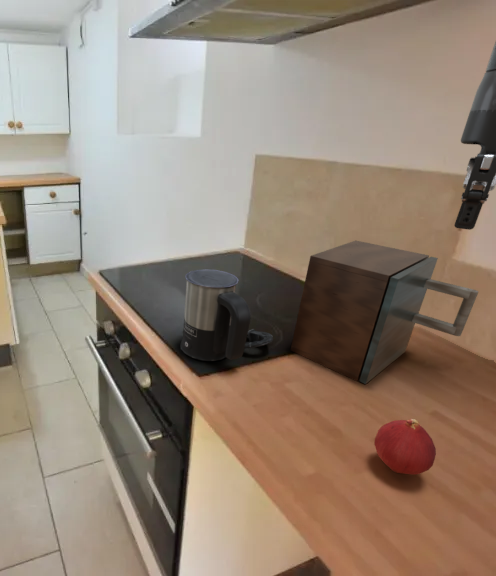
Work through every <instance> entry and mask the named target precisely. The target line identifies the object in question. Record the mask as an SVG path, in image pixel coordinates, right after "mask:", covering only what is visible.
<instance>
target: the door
mask: <svg viewBox="0 0 496 576" xmlns="http://www.w3.org/2000/svg"><path fill="white" fill-rule="evenodd" d="M438 260H439V258H438V257H434V256H429V258H428V259H426V260H424V261H422V262H420V263H418V264H416V265H414V266H412V267H410V268H408V269H406V270H404V271H402V272H400V273H398V274H396V275H394V276H392V277H391V279H390V282H389V285H388V289H387V292H386V295H385V298H384V302H383V305H382V308H381V312H380V315H379V318H378V321H377V325H376V328H375V331H374V335H373V338H372V341H371V344H370V348H369V351H368V354H367V357H366V361H365V364H364V367H363V371H362V374H361V377H360V379H359V380H358V381H359V383H361V384H364V385H366V384H368V383H369V382H370V381H371V380H373V379H374V378H375V377H376V376H377V375H379V374H380V373H381V372H383V370H384V369H387V367H389V366H390V365H391V364H392V363H393V362H395V361H396V360H397V359H398V358H400V357H401V356H403V354H404V353H406V351H407V348H408V345H409V342H410V339H411V337H412V334H413V330H414V328H415V325H421V326H423V327H426V328H429V329H433V330H435V331H439V332H442V333H445V334H448V335H451V336H454V337H461V336H462V334H463V331H464V329H465V326H466V324H467V323H468V319H469V317H470V315H471V312H472V310H473V307H474V304H475V301H476V299H477V297H478V294H479V290H476V289H473V288H469V287H464V286H461V285H457V284H452V283H449V282H444V281H440V280H436V279H432V276H433V273H434V271H435V268H436V265H437V262H438ZM428 290H430V291H435V292H438V293H442V294H445V295H449V296H454V297H457V298H462V301H461V303H460V306H459V308H458V311H457V314H456V316H455V318H454V321H453V323H451V322H448V321H445V320H441V319H438V318H434V317H431V316H429V315H424V314H422V313H420V311H421V308H422V306H423V305H422V304H423V302H424V299H425V297H426V294H427V291H428Z"/></svg>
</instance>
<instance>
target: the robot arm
mask: <svg viewBox="0 0 496 576" xmlns="http://www.w3.org/2000/svg"><path fill="white" fill-rule="evenodd" d="M483 74H484V75H483V76H482V79H481V81H480V83H479V85H478V87H477V89H476V92H475V95H474V98H473V101H472V104H471V107H470V110H469V113H468V116H467V119H466V122H465V126H464V129H463V131H462V135H461V137H460V142H461V144H462V145H478V146H480V151H479V153H477V154H476V156H475V157H474V156H473V157H470V159H469V160H468V163H467V166H466V175H465V178H464V180H463V184H462V188H463V189H464V192H462V193H461V198H460V200H461V204H460V206H459V207H460V208H459V211H458V213H457V216H456V219H455V222H454V227H455V228H456V229H461V230H468V231H469V230H470V231H471V230H473V229H475V227H476V224H477V221H478V218H479V215H480V213H481V210H482V208H483V205H484V204H485V203H486V202H487V201H488V198H489V196H490V194H489V193H490V192H492V191H493V190H495V189H496V41H495V42H494V44H493V47H492V51H491V53H490V57H489V60H488V63H487V66H486V68H485V72H484V73H483Z"/></svg>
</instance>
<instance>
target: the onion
mask: <svg viewBox="0 0 496 576" xmlns="http://www.w3.org/2000/svg"><path fill="white" fill-rule="evenodd" d="M373 445H374V447H375V450H376V455H377V456H378V457H379V458H380V460H382V462H383V463H384V465H386V466H387V467H388V468H389V469H390V470H391V471H392V472H394V473H396V474H404V475H421V474H422V473H426V472H427V471H429V470H430V469H431V468H432V467H433V466H434V463H435V460H436V456H437V455H436V454H437V448H436V446H435V443H434V441H433V438H432V437H431V435H430V434H429V433H428V431H427V430H426V429H425V428H424V427H423V426H422V425H421V424H420V423H419V421H418V420H416V419H415V418H410V419H407V420H405V419H396V420H391V421H389V422H387V423H385V424H383V425H382V426H381V427H380V428H378V430H377V432H376V435H375V437H374V444H373Z"/></svg>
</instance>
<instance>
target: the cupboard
mask: <svg viewBox="0 0 496 576" xmlns="http://www.w3.org/2000/svg"><path fill="white" fill-rule="evenodd" d="M429 257H430V254H429V255H428V254H425V253H419V252H415V251H409V250H406V249H405V250H404V249H399V248H395V247H390V246H384V245H380V244H375V243H371V242H365V241H362V240H361V241H360V240H352V241H350V242H346V243H344V244H342V245H338V246H336V247H335V246H334V247H333V248H329V249H326V250H324V251H320V252H318V253H315V254H312V255H310V256H309V261H308V264H307V265H308V266H307V270H306V275H305V280H304V285H303V288H302V289H303V290H302V294H301V299H300V304H299V307H298V312H297V317H296V322H295V327H294V331H293V336H292V341H291V345H290V351H291V352H293V353H295V354H297V355H300V356H302V357H304V358H306V359H308V360H311V361H312V362H315V363H317V364H319V365H321V366H324V367H325V368H328V369H330V370H332V371H334V372H336V373H339V374H341V375H343V376H345V377H347V378H350V379H352V380H353V381H356V382H358V381H359V380H360V377H361V374H362V371H363V367H364V364H365V361H366V357H367V354H368V351H369V348H370V344H371V341H372V338H373V335H374V331H375V328H376V325H377V321H378V318H379V315H380V312H381V308H382V305H383V302H384V298H385V295H386V292H387V289H388V285H389V282H390V279H391V277H392V276H394V275H396V274H398V273H400V272H402V271H404V270H406V269H408V268H410V267H412V266H414V265H416V264H418V263H420V262H422V261H424V260H426V259H428V258H429Z"/></svg>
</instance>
